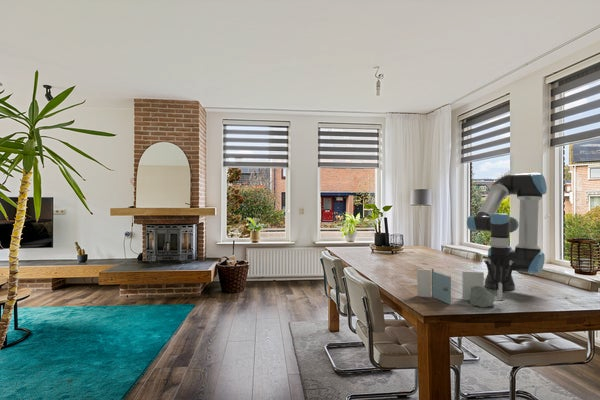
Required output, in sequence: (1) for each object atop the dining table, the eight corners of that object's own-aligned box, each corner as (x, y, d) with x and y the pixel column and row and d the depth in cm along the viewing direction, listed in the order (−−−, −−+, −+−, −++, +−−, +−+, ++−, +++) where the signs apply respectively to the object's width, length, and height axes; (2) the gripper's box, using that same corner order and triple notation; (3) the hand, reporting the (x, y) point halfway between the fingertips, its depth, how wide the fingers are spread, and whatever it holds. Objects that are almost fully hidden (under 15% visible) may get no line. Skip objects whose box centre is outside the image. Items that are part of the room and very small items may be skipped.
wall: (483, 300, 172) (483, 271, 172) (483, 301, 171) (483, 271, 171) (417, 295, 181) (417, 267, 181) (417, 296, 180) (417, 268, 180)
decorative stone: (479, 310, 157) (493, 292, 156) (460, 295, 166) (473, 279, 165) (490, 318, 164) (503, 302, 163) (471, 304, 173) (483, 289, 173)
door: (430, 297, 177) (430, 271, 177) (434, 296, 177) (434, 271, 177) (445, 304, 165) (445, 276, 165) (450, 303, 165) (450, 276, 165)
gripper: (512, 246, 164) (512, 295, 164) (482, 245, 168) (482, 293, 168) (518, 248, 157) (518, 300, 157) (486, 246, 161) (486, 298, 161)
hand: (499, 296), depth 162 cm, fingers closed
